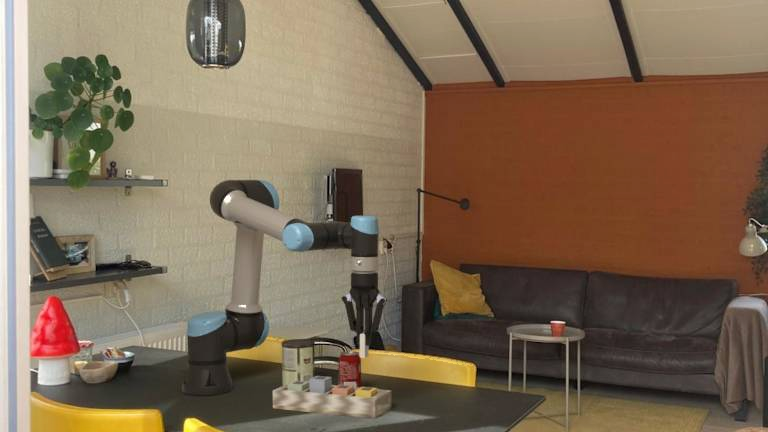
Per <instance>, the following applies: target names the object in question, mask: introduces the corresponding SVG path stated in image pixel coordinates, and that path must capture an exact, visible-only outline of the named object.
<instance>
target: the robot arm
mask: <svg viewBox="0 0 768 432" xmlns="http://www.w3.org/2000/svg"><path fill="white" fill-rule="evenodd" d="M209 205H210V208H211V210H212V212H213V213H214V214H215V215H216V216H218V217H219V218H221V219H223V220H225V221H228V222H230V223H233V224H234V226H235V227H236V232H235V233H236V234H235V247H234V257H233V258H234V260H233V271H232V283H231V284H232V285H231V297H230V301H229V303H228V304H227V305H225V312H224V311H220V310H219V311H218V310H217V311H216V310H214V311H213V310H211V311H205V312H200V313H197V314H194V315H192V316H191V317H190V318H189V319H188V321H187V329H186V335H187V367H186V370H185V374H184V377H183V380H182V383H181V388H182V389H181V392H182V393H183V394H186V395H191V396H212V395H214V396H215V395H221V394H226V393H229V392H230V391H232V390H233V379H232V377H231V373H230V371H229V367H228V365H227V363H228V362H227V353H232V352H238V351H242V350H251V349H253V348H257V347H259V346H261V345H262V344H263V343H265V341H266V339H267V337H268V334H269V331H270V323H269V320H267V319H268V317H267V315H266V314H265V313H264V312H263V310H264V309H263V307H262V306H261V305H260V304H259V300H260V299H259V298H260V287H261V286H260V285H261V275H262V274H261V273H262V263H263V249H264V238H265V235H267V236H269V237H271V238H274V239H276V240H278V241H280V242H282V243H283V246H285V248H286V249H287V250H288V251H291V252H299V253H303V252H311V251H321V250H333V249H335V250H337V249H338V250H339V249H340V250H341V249H342V250H343V249H344V250H350V270H351V271H352V272H351V273H350V290H349V293H347V294H346V295H343V296H341V301H342V302H343V303H344V306H345V310H346V315H347V320H348V324H349V329H350V331H352V332H355V333H356V345H357V346H359V356H360V358H361V359H366V358H368V357H369V356H370V355H369V349H370V347H369V346H372V341H373V338H372V337H373V336H372V335H373V333H376V332H377V331H379V329H380V324H381V320H382V316H383V310H384V306H385V305H386V303H387V302H388V298H387V297H383V295H381V293H380V291H379V273H378V272H377V271H379V232H380V231H379V220H378V217H376V216H374V215H353V216H352V217H350V218H351V219H350V222H348V221H347V222H346V221H345V222H344V221H337V220H333V221H331V220H330V221H323V222H307V221H304V220H302V219H299V218H297V217H295V216H294V215H293V216H292V215H291V214H288V213H286V212H283V211H281V210H279V207H280V197H279V194H278V191H277V189H276V188H275V186H274V185H273V183H272V182H271V183H270V182H269V181H267V180H262V179H236V180H235V179H227V180H223V181H221V182H219V183H218V184H216V185H215V186H214V187H213V189H212V190H211V192H210V195H209ZM353 301H354V303H355V308H354V304H353ZM375 302H376V303H377V304H376V307H375V310H374V311H375V312H374V314H373V308H374V303H375ZM355 310H356V311H355ZM355 312H356V313H355Z"/></svg>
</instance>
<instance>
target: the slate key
mask: <svg viewBox="0 0 768 432" xmlns="http://www.w3.org/2000/svg"><path fill="white" fill-rule="evenodd" d="M332 385H333V384H332V376H322V375H315V377H313V378H311V379H310V392H313V393H326V392H328V391H330V390H332Z"/></svg>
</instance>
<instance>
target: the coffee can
mask: <svg viewBox="0 0 768 432" xmlns="http://www.w3.org/2000/svg"><path fill="white" fill-rule="evenodd" d="M315 343H316V341H315V340H313V339H308V338H307V339H305V338H296V339H295V338H292V339H286V340H283V341H281V365H282V366H281V367H282V368H281V369H282V372H281V373H282V379H281V380H282V386H284V385H286V384H288V383H291V382H294V381H303V382H309V383H310V379H311V378H313V377H315V376H316V375H315V369H316V368H315V367H316V366H315V363H316V362H315Z"/></svg>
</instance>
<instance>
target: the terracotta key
mask: <svg viewBox="0 0 768 432" xmlns="http://www.w3.org/2000/svg"><path fill="white" fill-rule="evenodd" d="M353 392H354V386H348V385H339V384H338V385H337V386H336V387H334V388H332V394H334V395H345V396H348V395H350V394H352V393H353Z"/></svg>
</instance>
